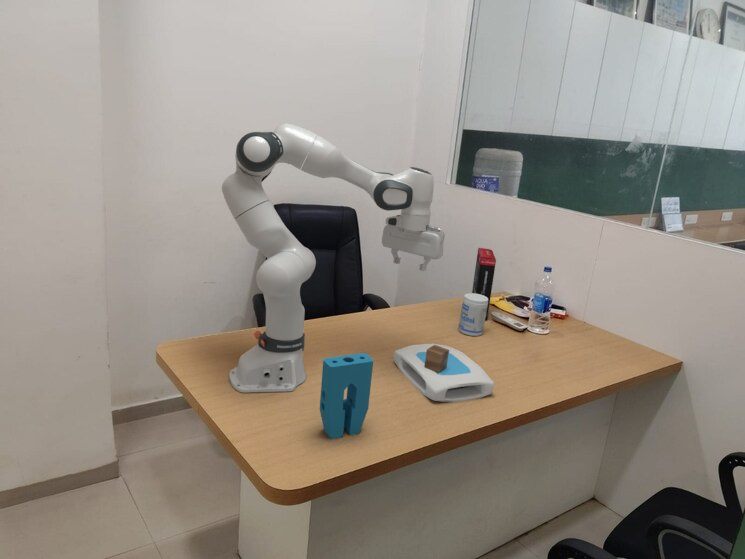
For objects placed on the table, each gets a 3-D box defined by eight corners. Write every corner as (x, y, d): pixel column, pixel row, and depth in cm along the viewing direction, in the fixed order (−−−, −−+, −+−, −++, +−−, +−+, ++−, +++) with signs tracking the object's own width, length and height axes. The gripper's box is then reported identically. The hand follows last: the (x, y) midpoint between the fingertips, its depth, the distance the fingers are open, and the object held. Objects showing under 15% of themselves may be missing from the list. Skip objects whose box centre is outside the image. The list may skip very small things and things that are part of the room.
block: (358, 421, 144) (365, 352, 138) (367, 431, 140) (374, 360, 134) (316, 430, 138) (322, 358, 133) (324, 440, 134) (330, 367, 128)
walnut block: (438, 372, 163) (441, 354, 162) (424, 367, 166) (426, 349, 164) (446, 367, 167) (449, 349, 165) (432, 362, 170) (434, 344, 168)
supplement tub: (454, 332, 212) (460, 296, 208) (462, 325, 220) (467, 291, 216) (478, 339, 208) (484, 302, 204) (485, 331, 216) (491, 296, 212)
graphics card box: (487, 321, 228) (498, 258, 220) (471, 319, 228) (480, 256, 220) (483, 307, 244) (493, 249, 236) (468, 305, 245) (477, 247, 237)
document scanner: (446, 358, 189) (449, 341, 187) (493, 397, 165) (496, 379, 163) (391, 363, 181) (393, 346, 179) (432, 406, 156) (435, 386, 155)
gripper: (450, 228, 161) (443, 272, 165) (392, 215, 172) (387, 258, 176) (440, 230, 156) (433, 276, 160) (381, 217, 167) (376, 261, 171)
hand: (409, 266), depth 168 cm, fingers open, 8 cm apart
